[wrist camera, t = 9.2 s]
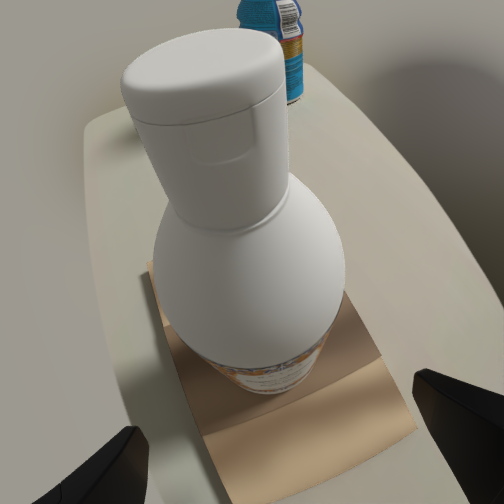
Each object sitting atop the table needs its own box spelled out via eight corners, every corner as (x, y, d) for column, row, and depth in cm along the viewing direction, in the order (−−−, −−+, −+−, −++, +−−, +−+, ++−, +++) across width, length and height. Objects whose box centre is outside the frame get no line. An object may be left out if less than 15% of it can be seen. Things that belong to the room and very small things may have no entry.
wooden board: (412, 428, 18) (419, 428, 17) (239, 508, 16) (236, 513, 15) (289, 212, 29) (289, 203, 28) (151, 269, 28) (145, 261, 26)
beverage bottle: (246, 109, 39) (225, -27, 22) (248, 82, 44) (231, -32, 27) (307, 106, 38) (304, -31, 21) (301, 80, 43) (295, -36, 26)
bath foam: (233, 406, 19) (-34, 281, 2) (211, 318, 23) (65, 60, 6) (329, 377, 20) (504, 132, 3) (299, 292, 23) (304, -2, 6)
